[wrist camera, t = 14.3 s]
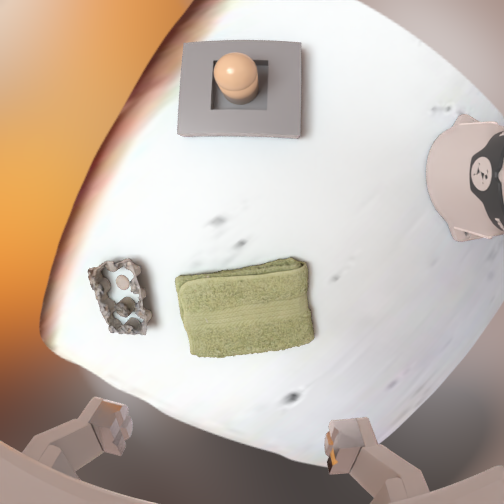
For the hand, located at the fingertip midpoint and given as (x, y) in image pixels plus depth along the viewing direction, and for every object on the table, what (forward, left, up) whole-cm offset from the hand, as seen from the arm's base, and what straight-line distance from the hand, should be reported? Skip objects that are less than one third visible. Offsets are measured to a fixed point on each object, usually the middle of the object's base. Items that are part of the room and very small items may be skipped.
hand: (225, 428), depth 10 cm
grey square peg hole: (+2, -20, -29) cm, 35 cm away
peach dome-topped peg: (+2, -20, -28) cm, 34 cm away
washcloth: (+1, +9, -30) cm, 31 cm away
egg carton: (+18, +7, -30) cm, 35 cm away
